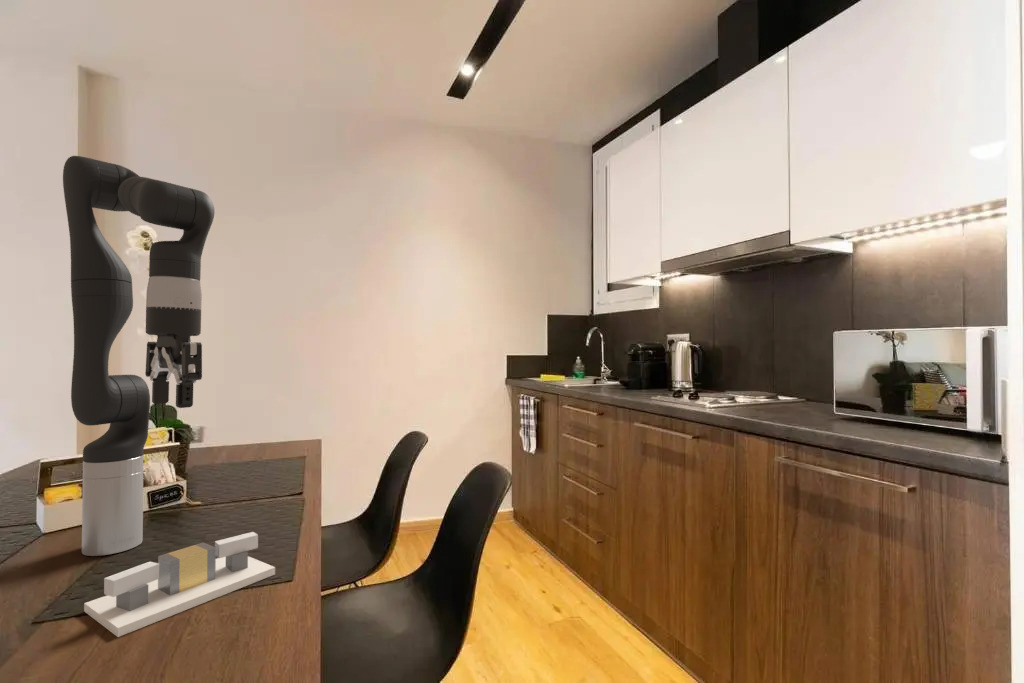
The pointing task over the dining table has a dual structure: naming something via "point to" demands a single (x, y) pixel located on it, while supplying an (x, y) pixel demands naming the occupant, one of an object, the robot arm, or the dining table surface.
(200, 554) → the block
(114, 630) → the stand
